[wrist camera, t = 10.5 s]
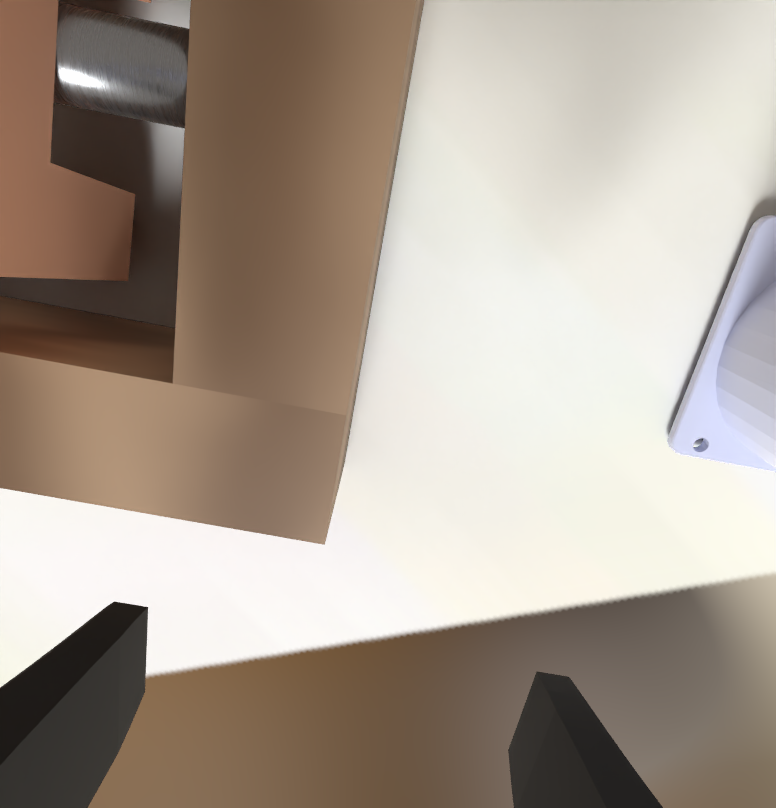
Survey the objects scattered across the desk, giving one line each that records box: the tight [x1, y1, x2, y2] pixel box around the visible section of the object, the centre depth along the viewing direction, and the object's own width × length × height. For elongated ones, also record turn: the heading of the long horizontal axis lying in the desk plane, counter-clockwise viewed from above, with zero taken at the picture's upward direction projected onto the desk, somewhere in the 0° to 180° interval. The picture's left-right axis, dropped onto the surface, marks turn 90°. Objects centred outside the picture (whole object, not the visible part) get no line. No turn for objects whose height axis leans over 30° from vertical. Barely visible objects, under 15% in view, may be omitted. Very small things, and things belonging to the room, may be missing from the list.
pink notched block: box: [0, 0, 151, 281], centre depth 12 cm, size 4×10×6 cm, turn 170°
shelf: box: [0, 0, 424, 545], centre depth 14 cm, size 18×22×5 cm
